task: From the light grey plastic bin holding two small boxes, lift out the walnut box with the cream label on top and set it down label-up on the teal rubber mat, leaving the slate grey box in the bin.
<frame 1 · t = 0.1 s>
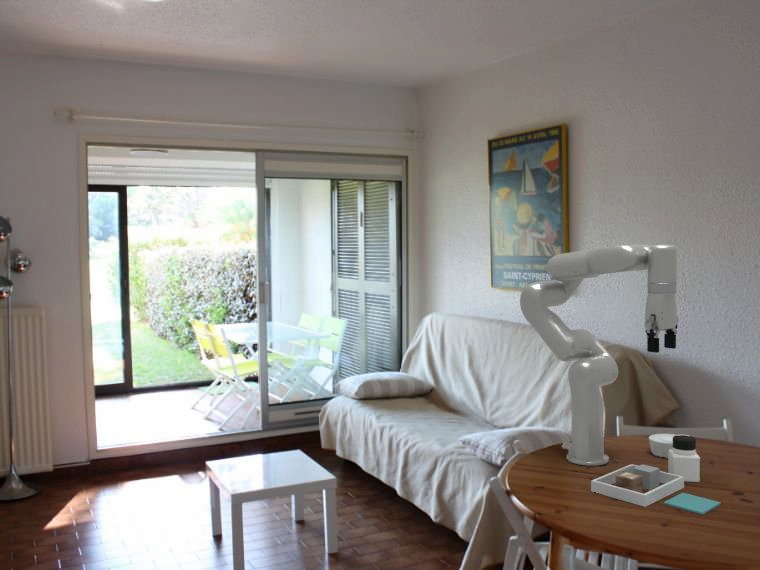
hand: (661, 350, 200), 37 cm above the table, tool pointing down, fingers open, 9 cm apart
ramekin: (667, 455, 225), on the table
slate box: (646, 486, 197), resting in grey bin
medicine bottle: (683, 478, 203), on the table
walnut box: (629, 494, 191), resting in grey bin
teal mat: (692, 504, 183), on the table
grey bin: (637, 489, 194), on the table
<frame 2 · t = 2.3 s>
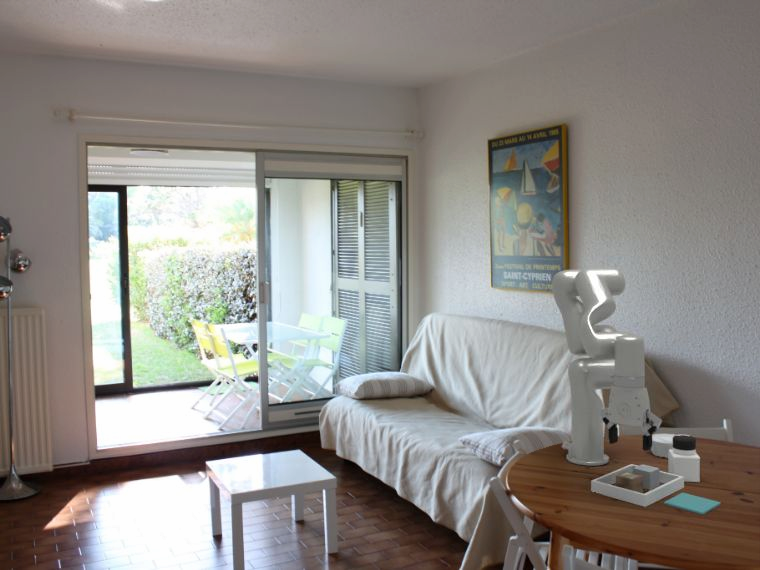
hand: (630, 446, 190), 13 cm above the table, tool pointing down, fingers open, 9 cm apart
nothing on the table moved.
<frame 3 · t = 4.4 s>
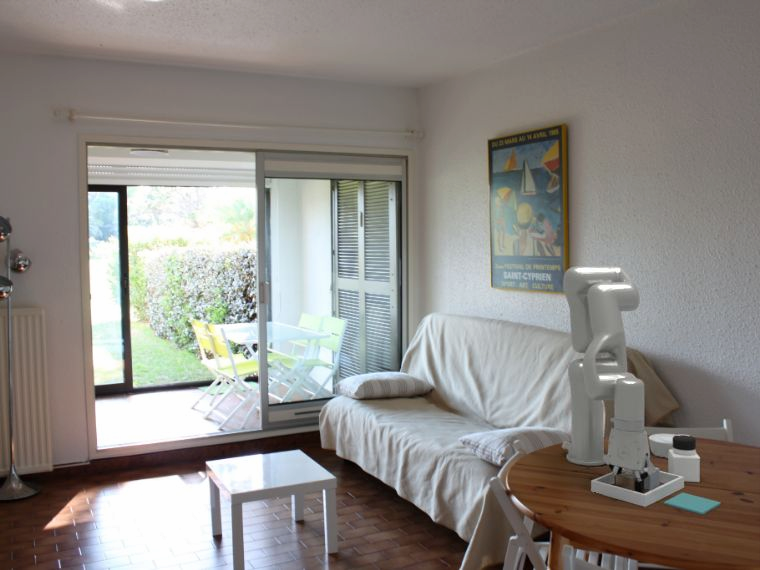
hand: (629, 491, 191), 1 cm above the table, tool pointing down, fingers closed on walnut box, 5 cm apart
walnut box: (629, 493, 191), resting in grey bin, touching gripper
everything else where it was.
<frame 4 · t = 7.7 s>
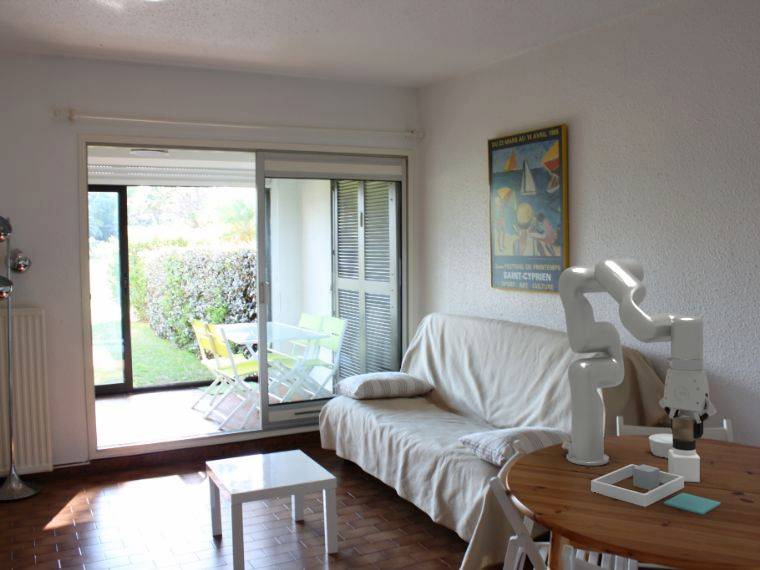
hand: (687, 434, 182), 18 cm above the table, tool pointing down, fingers closed on walnut box, 5 cm apart
walnut box: (686, 437, 182), point 17 cm above the table, touching gripper
everything else where it was.
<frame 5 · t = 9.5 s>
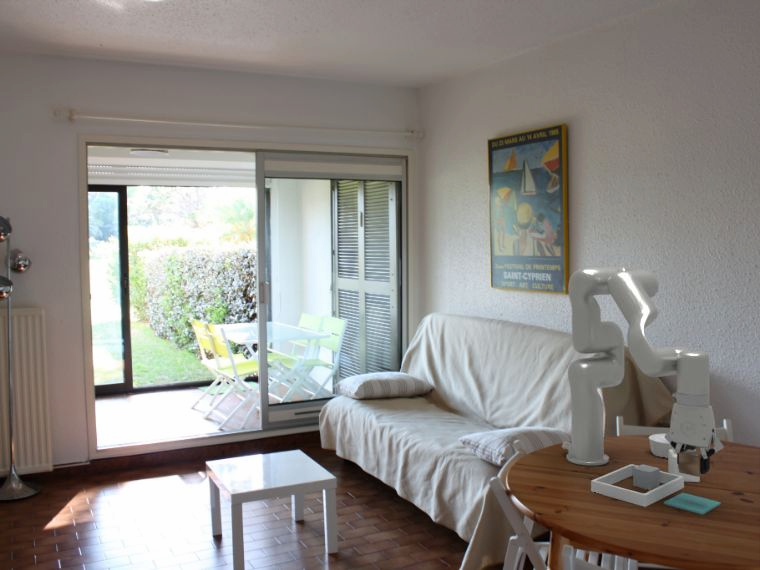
hand: (693, 469, 182), 9 cm above the table, tool pointing down, fingers closed on walnut box, 5 cm apart
walnut box: (693, 472, 182), point 8 cm above the table, touching gripper
everything else where it was.
when the fingers open (3 cm above the table, at t = 11.1 s): walnut box drops 1 cm, resting on teal mat.
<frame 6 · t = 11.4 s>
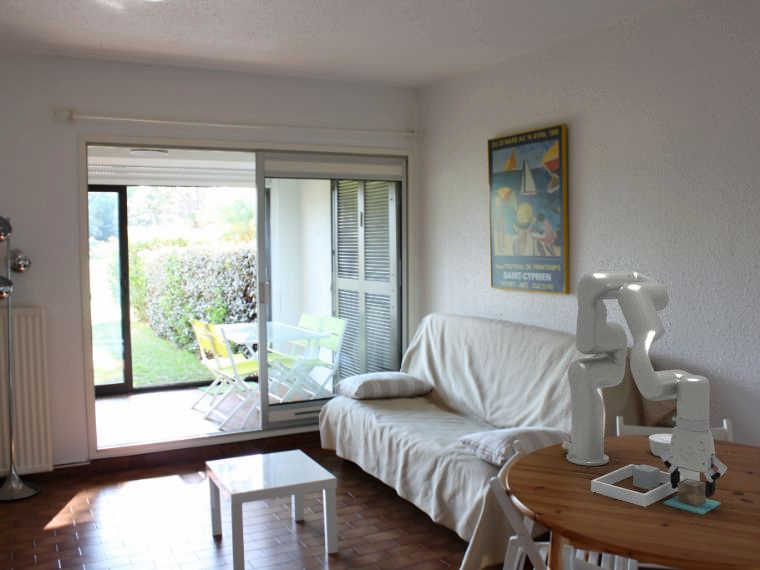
hand: (692, 491, 182), 3 cm above the table, tool pointing down, fingers open, 8 cm apart
walnut box: (691, 502, 183), resting on teal mat
everything else where it was.
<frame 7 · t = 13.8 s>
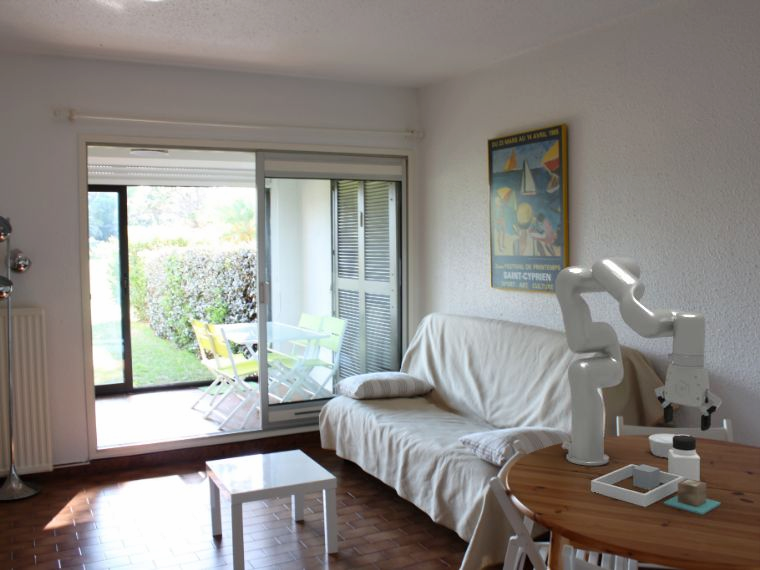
hand: (686, 425, 185), 19 cm above the table, tool pointing down, fingers open, 9 cm apart
nothing on the table moved.
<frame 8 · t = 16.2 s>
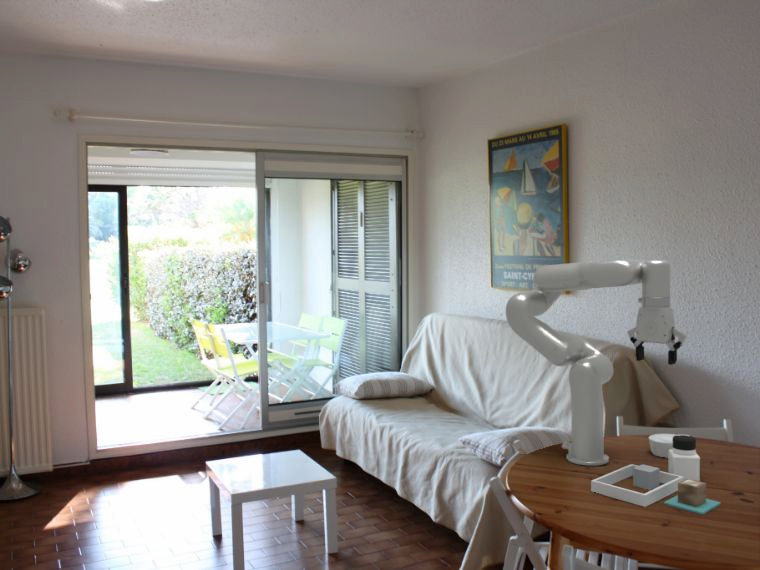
hand: (655, 362, 206), 32 cm above the table, tool pointing down, fingers open, 9 cm apart
nothing on the table moved.
at the end: walnut box inside the target area on the teal mat (0.1 cm from its centre), point 0.5 cm above the teal mat's base; walnut box tilted 0°; slate box moved 0.1 cm from its start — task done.
